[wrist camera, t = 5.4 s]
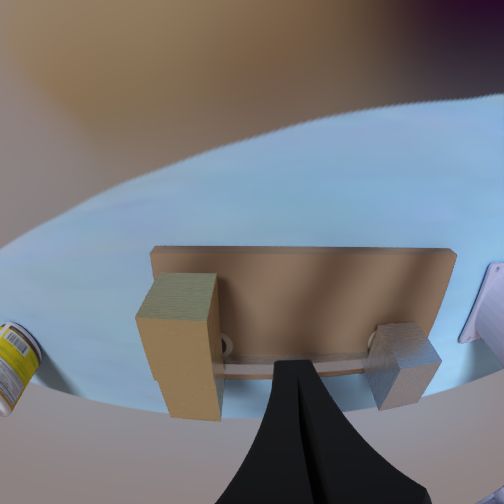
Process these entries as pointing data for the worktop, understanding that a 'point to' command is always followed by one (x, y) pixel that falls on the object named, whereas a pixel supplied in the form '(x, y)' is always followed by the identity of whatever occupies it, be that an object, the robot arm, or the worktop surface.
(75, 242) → the worktop surface
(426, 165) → the worktop surface
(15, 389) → the supplement bottle
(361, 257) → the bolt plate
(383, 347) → the grey piece
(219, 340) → the divider leg
